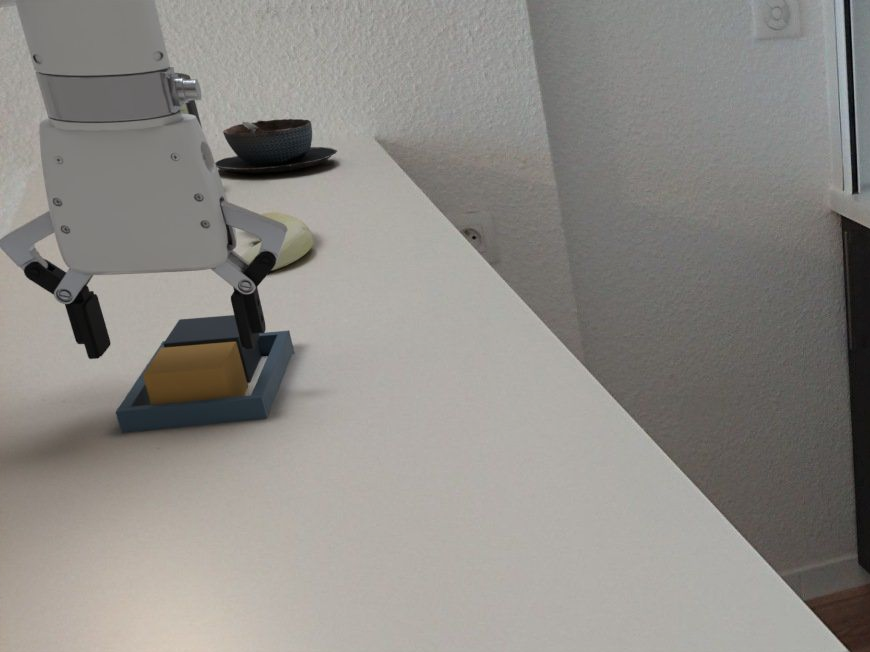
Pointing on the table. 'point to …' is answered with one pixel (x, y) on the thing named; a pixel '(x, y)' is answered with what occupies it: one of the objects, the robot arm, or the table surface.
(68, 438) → the table surface
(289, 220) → the fruit
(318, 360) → the table surface
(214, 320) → the dark gray block
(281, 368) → the frame
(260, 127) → the soup bowl
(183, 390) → the orange block
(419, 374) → the table surface
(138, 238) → the robot arm
